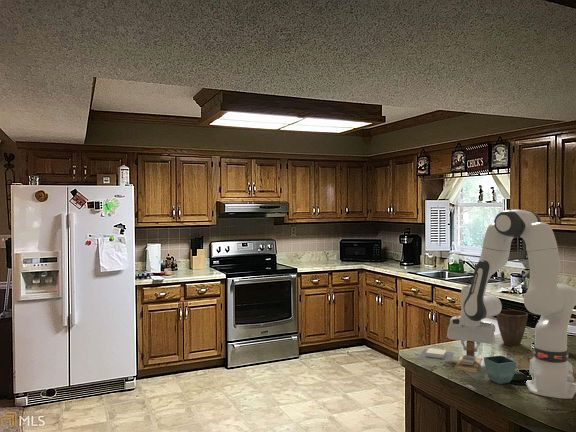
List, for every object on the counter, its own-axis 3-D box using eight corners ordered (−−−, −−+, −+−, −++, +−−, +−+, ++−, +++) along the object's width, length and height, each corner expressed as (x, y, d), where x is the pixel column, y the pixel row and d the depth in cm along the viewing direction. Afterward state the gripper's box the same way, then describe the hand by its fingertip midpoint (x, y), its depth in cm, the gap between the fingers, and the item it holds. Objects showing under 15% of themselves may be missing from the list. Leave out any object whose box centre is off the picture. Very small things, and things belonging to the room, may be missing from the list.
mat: (448, 363, 220) (448, 362, 220) (417, 358, 227) (417, 357, 227) (454, 353, 235) (454, 352, 235) (424, 349, 241) (424, 349, 241)
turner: (472, 365, 212) (472, 349, 212) (460, 363, 214) (460, 347, 214) (476, 355, 225) (476, 340, 225) (465, 354, 228) (465, 339, 228)
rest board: (476, 372, 208) (476, 370, 208) (454, 368, 213) (454, 367, 213) (482, 359, 226) (482, 357, 226) (461, 356, 230) (461, 354, 230)
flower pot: (497, 386, 192) (497, 363, 191) (483, 379, 200) (483, 357, 200) (516, 384, 194) (516, 361, 194) (501, 377, 202) (501, 355, 202)
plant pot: (490, 343, 252) (490, 312, 252) (504, 338, 262) (504, 308, 262) (519, 349, 241) (519, 317, 241) (533, 344, 251) (533, 312, 250)
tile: (446, 354, 232) (443, 358, 225) (429, 352, 236) (425, 356, 229) (446, 350, 232) (443, 354, 225) (429, 347, 236) (425, 352, 229)
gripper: (495, 321, 222) (495, 352, 223) (448, 316, 232) (448, 346, 232) (494, 324, 217) (494, 355, 217) (446, 319, 226) (446, 349, 227)
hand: (470, 350), depth 225 cm, fingers closed on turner, 3 cm apart
